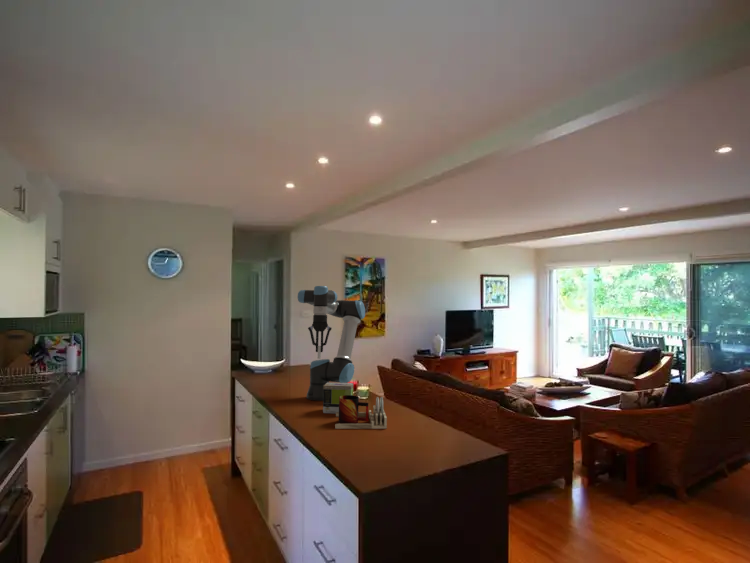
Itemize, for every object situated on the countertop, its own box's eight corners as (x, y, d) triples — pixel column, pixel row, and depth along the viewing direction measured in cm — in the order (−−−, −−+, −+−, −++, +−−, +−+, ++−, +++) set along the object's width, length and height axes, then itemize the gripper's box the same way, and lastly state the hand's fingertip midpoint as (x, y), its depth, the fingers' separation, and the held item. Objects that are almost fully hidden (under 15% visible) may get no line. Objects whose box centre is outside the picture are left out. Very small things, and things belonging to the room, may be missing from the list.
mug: (368, 423, 204) (369, 398, 205) (340, 425, 201) (341, 400, 201) (363, 418, 214) (364, 394, 214) (336, 419, 210) (337, 395, 211)
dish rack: (335, 416, 217) (336, 392, 218) (382, 416, 219) (382, 392, 219) (335, 428, 195) (335, 402, 196) (386, 428, 197) (387, 402, 197)
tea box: (353, 410, 230) (354, 382, 231) (350, 414, 220) (351, 386, 221) (326, 408, 232) (327, 381, 233) (322, 413, 222) (323, 385, 223)
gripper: (307, 314, 224) (306, 359, 222) (332, 314, 225) (331, 359, 223) (308, 314, 231) (307, 357, 230) (332, 314, 232) (331, 357, 231)
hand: (319, 358), depth 227 cm, fingers closed
